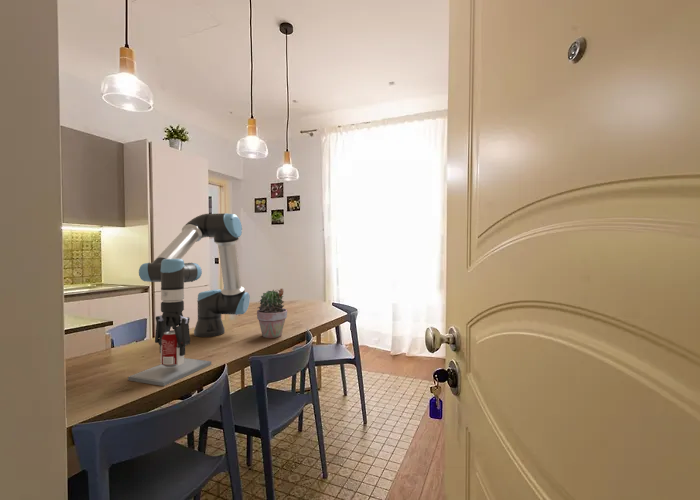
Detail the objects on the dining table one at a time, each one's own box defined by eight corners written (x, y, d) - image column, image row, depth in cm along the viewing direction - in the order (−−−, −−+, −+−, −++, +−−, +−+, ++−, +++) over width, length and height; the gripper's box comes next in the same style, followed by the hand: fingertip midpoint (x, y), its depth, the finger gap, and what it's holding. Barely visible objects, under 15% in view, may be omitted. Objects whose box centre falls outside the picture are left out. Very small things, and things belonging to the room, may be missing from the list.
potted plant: (257, 331, 184) (257, 286, 184) (292, 331, 183) (292, 286, 183) (245, 339, 166) (246, 289, 166) (284, 340, 165) (284, 290, 165)
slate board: (179, 360, 136) (179, 357, 136) (211, 364, 131) (211, 361, 131) (128, 380, 115) (128, 376, 115) (164, 386, 110) (164, 382, 110)
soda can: (173, 368, 119) (173, 334, 119) (157, 367, 120) (157, 333, 120) (186, 362, 125) (186, 330, 125) (170, 360, 126) (170, 329, 127)
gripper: (143, 300, 122) (142, 363, 122) (185, 303, 116) (185, 369, 116) (160, 298, 129) (160, 357, 129) (201, 300, 123) (201, 362, 123)
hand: (172, 363), depth 123 cm, fingers closed on soda can, 7 cm apart
